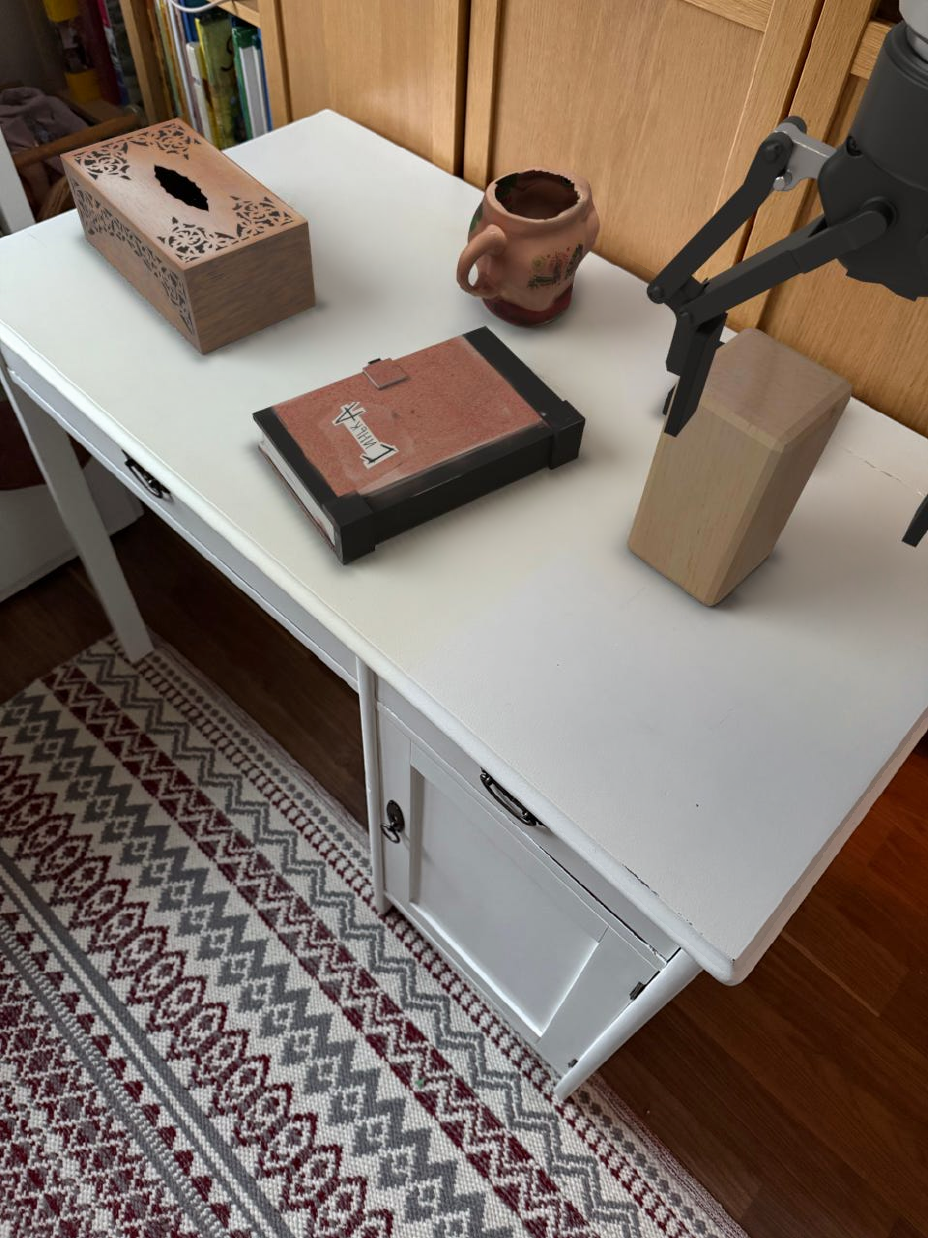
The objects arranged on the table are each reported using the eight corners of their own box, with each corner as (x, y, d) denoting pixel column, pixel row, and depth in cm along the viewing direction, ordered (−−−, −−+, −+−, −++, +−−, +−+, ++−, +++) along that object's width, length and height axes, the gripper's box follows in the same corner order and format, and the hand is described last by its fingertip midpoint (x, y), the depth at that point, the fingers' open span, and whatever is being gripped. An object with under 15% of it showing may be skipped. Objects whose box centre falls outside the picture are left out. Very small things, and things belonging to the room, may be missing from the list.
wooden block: (773, 554, 83) (862, 382, 67) (709, 614, 79) (788, 446, 62) (686, 494, 87) (750, 318, 71) (620, 549, 83) (673, 374, 66)
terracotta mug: (506, 377, 96) (519, 258, 84) (418, 327, 100) (419, 207, 88) (611, 292, 105) (635, 175, 94) (527, 250, 109) (540, 133, 98)
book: (479, 357, 97) (482, 317, 93) (577, 457, 89) (585, 418, 85) (255, 444, 88) (248, 404, 84) (343, 564, 80) (339, 527, 76)
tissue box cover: (86, 239, 106) (59, 154, 98) (195, 200, 112) (178, 117, 104) (202, 355, 95) (183, 270, 87) (316, 304, 101) (308, 221, 93)
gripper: (634, -20, 33) (559, 417, 51) (1398, 211, 26) (1008, 628, 44) (718, -77, 37) (621, 348, 55) (1406, 111, 30) (1044, 532, 47)
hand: (793, 473), depth 49 cm, fingers open, 13 cm apart
